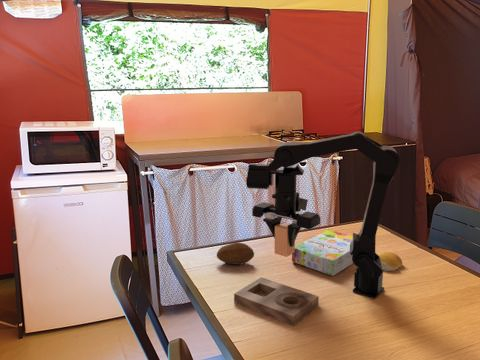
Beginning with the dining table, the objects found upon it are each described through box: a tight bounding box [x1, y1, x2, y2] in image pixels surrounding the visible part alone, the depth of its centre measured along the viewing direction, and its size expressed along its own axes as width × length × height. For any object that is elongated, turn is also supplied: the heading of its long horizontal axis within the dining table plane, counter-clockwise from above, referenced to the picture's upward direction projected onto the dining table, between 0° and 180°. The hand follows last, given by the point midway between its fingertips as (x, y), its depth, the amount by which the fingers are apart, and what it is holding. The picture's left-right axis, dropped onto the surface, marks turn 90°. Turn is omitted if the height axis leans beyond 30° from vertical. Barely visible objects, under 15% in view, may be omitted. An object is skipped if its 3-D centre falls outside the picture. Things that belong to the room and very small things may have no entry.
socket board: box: [233, 276, 320, 327], centre depth 116 cm, size 18×12×2 cm, turn 51°
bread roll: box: [377, 251, 403, 272], centre depth 137 cm, size 8×9×4 cm
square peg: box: [274, 221, 296, 258], centre depth 124 cm, size 4×4×8 cm
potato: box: [216, 241, 255, 265], centre depth 139 cm, size 7×12×7 cm, turn 95°
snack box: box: [291, 229, 354, 277], centre depth 142 cm, size 21×6×15 cm
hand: (284, 244), depth 124 cm, fingers closed on square peg, 4 cm apart
